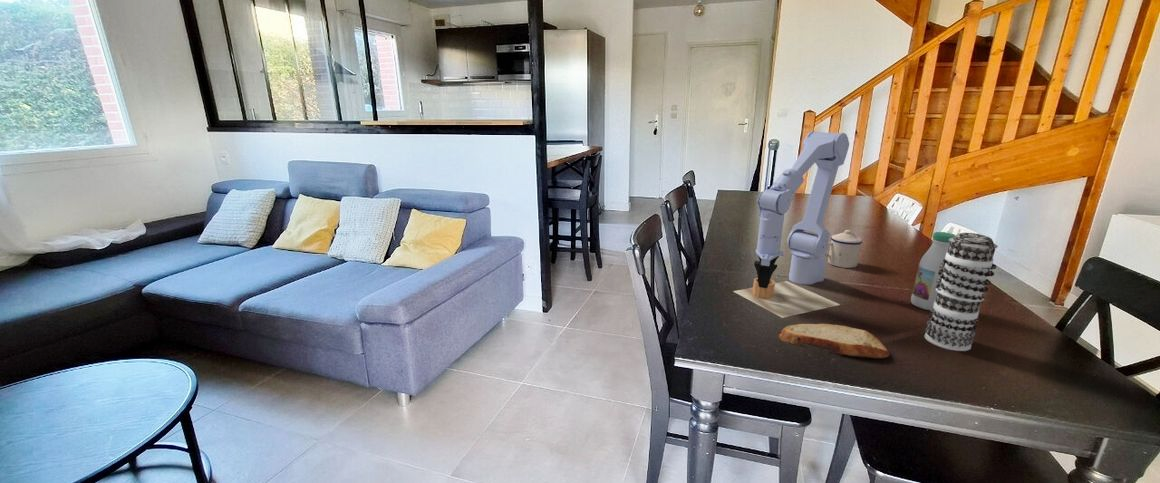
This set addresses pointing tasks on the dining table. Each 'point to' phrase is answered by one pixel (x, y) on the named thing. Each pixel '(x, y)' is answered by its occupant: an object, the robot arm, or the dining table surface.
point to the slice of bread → (836, 339)
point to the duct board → (788, 300)
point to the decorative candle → (960, 291)
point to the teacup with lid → (844, 250)
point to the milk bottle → (930, 271)
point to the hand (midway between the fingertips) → (764, 282)
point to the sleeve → (763, 289)
